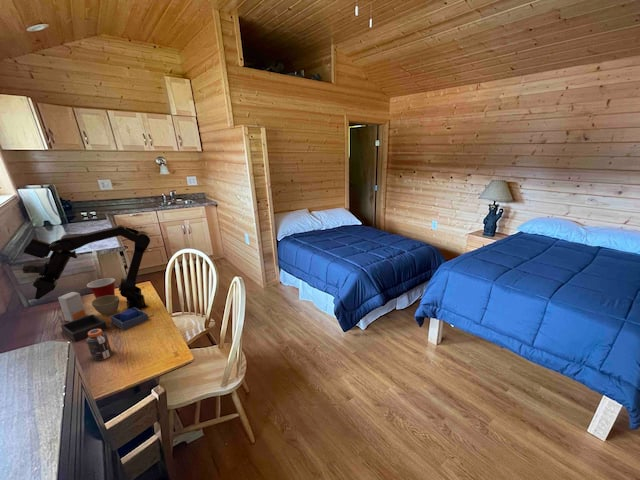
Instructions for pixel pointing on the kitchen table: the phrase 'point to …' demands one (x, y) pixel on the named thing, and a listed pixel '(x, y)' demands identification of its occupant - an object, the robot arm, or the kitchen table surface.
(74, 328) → the charcoal bin
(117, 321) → the blue bin
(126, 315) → the blue block
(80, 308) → the cosmetic box
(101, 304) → the gray bowl
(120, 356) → the kitchen table surface
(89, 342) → the pill bottle
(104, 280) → the plastic cup
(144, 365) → the kitchen table surface
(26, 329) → the kitchen table surface
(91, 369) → the kitchen table surface
